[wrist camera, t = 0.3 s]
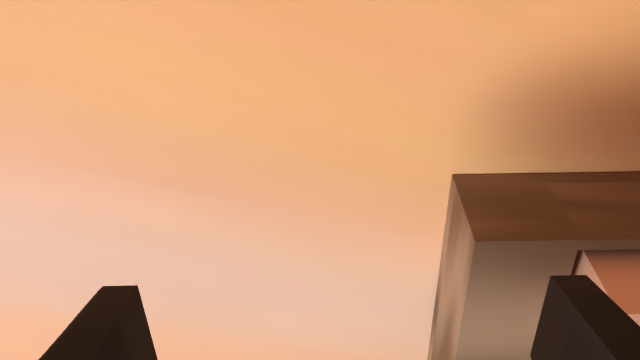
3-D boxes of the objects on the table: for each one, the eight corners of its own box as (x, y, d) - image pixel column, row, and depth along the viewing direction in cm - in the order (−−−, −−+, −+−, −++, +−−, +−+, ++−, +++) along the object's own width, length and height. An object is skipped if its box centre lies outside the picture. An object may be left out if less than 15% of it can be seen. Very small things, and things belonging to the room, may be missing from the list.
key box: (643, 426, 29) (680, 500, 26) (418, 430, 29) (430, 504, 26) (768, 169, 21) (845, 236, 18) (452, 174, 21) (475, 241, 18)
